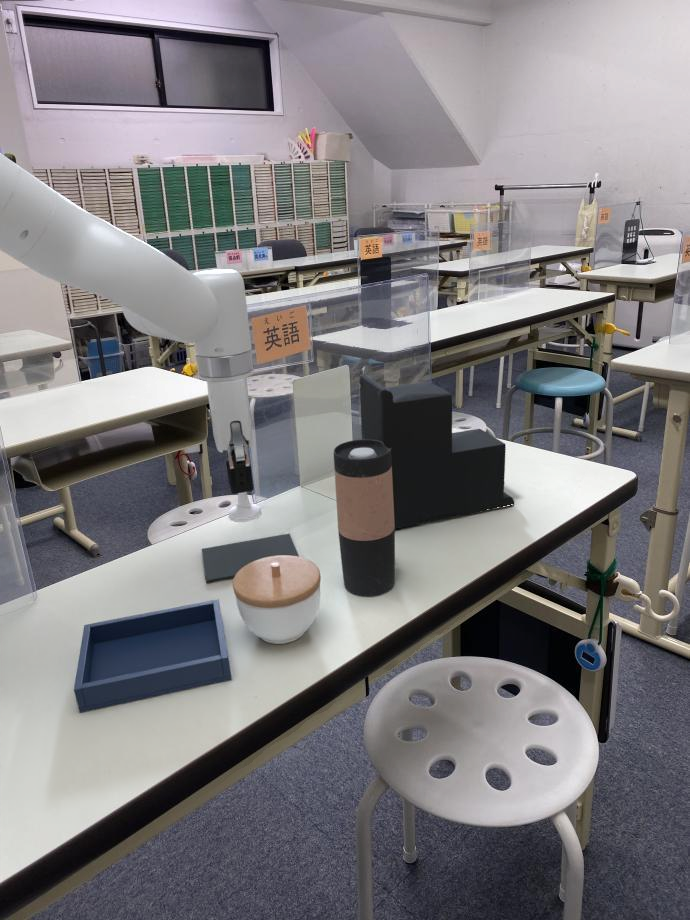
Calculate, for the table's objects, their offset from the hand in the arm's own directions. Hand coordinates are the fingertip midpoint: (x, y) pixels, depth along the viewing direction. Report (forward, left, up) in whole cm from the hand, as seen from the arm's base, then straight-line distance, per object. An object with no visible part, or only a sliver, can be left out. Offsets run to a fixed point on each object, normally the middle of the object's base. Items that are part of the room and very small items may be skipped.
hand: (241, 487), depth 100 cm
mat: (0, 0, -12) cm, 12 cm away
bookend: (+33, +6, -12) cm, 36 cm away
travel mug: (+15, -13, -12) cm, 23 cm away
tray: (-14, -21, -12) cm, 28 cm away
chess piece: (0, 0, -5) cm, 5 cm away
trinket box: (+1, -20, -12) cm, 23 cm away
